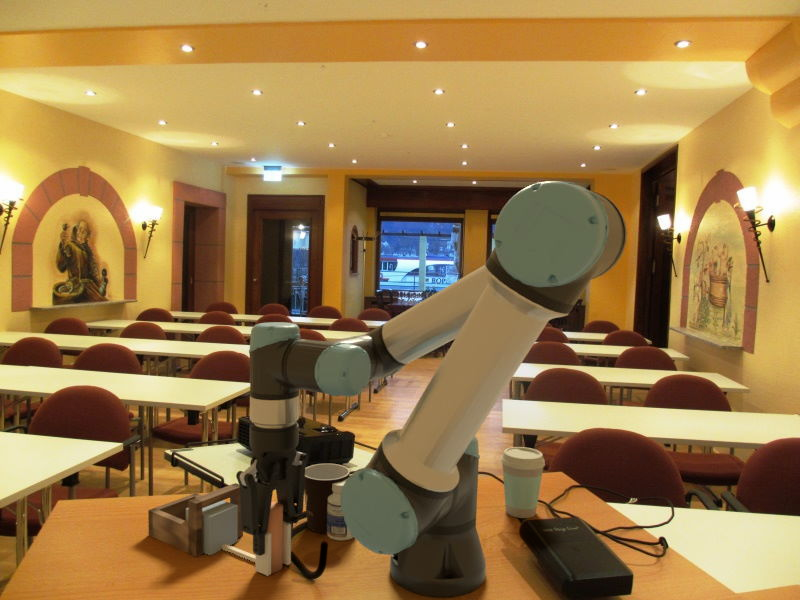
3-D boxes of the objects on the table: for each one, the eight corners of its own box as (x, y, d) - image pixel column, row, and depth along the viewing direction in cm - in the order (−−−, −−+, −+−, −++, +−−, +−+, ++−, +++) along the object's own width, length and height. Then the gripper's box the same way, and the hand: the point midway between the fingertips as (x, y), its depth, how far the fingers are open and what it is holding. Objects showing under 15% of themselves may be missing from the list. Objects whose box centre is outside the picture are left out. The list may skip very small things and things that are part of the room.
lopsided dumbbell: (292, 563, 102) (292, 503, 102) (265, 578, 97) (266, 515, 97) (213, 532, 112) (213, 478, 112) (185, 545, 107) (185, 488, 107)
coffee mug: (341, 537, 111) (342, 482, 110) (294, 532, 113) (295, 477, 112) (358, 511, 122) (359, 460, 122) (315, 506, 124) (316, 456, 123)
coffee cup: (550, 519, 122) (553, 458, 121) (509, 523, 120) (512, 461, 119) (531, 502, 130) (533, 445, 129) (492, 505, 128) (494, 447, 127)
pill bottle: (346, 525, 117) (347, 474, 116) (362, 536, 113) (363, 483, 112) (321, 532, 114) (321, 479, 113) (336, 544, 109) (337, 489, 109)
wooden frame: (242, 535, 112) (243, 485, 111) (196, 556, 104) (196, 503, 103) (195, 516, 119) (195, 469, 118) (148, 535, 111) (148, 485, 110)
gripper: (294, 407, 108) (293, 541, 109) (215, 429, 94) (215, 581, 96) (327, 415, 103) (325, 553, 105) (250, 438, 90) (249, 597, 92)
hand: (273, 566), depth 101 cm, fingers closed on lopsided dumbbell, 4 cm apart
